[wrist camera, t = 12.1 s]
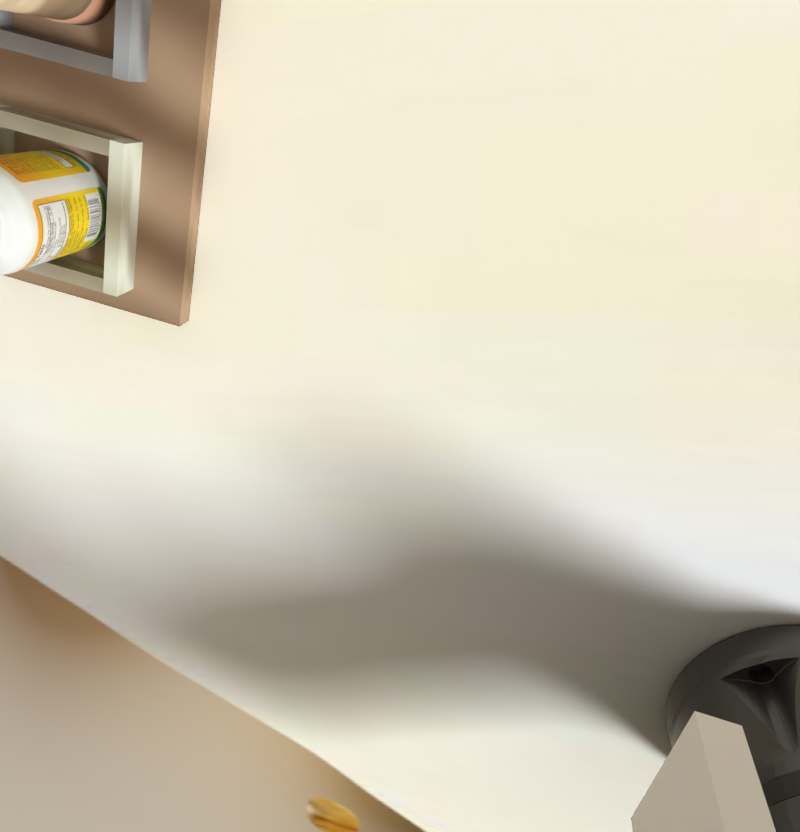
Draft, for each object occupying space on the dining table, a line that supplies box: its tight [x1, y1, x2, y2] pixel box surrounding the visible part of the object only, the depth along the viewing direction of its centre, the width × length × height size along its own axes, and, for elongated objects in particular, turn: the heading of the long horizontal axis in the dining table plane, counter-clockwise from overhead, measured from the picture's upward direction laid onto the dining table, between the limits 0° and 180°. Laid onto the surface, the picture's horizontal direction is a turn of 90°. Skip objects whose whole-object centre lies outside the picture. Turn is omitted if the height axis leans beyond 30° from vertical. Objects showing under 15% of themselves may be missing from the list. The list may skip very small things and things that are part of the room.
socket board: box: [0, 0, 221, 326], centre depth 36 cm, size 22×14×3 cm, turn 167°
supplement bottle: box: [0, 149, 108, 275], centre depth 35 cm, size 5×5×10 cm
